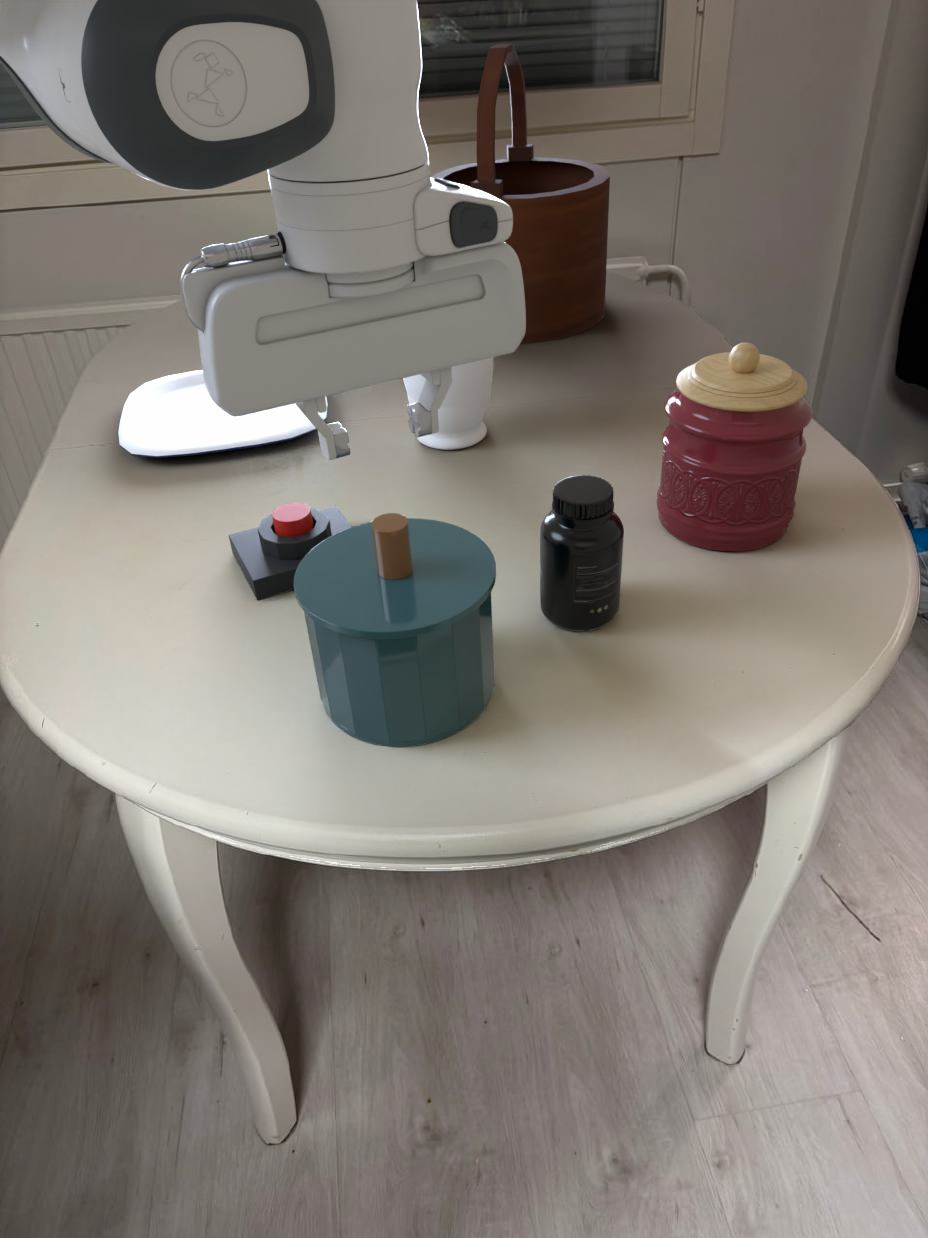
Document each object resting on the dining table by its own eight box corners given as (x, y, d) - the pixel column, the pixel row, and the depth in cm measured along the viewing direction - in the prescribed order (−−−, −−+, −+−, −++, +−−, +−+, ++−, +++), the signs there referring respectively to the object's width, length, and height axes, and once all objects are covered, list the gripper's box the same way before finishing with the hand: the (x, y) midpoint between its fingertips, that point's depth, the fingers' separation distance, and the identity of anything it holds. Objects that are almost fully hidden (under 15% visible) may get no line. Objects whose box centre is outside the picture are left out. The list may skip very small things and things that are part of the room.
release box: (257, 600, 84) (248, 564, 81) (232, 553, 90) (224, 518, 88) (370, 567, 87) (365, 530, 85) (338, 524, 94) (333, 489, 92)
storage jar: (357, 771, 66) (338, 657, 60) (300, 664, 76) (278, 557, 70) (524, 709, 71) (523, 597, 64) (449, 615, 81) (442, 511, 74)
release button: (281, 541, 85) (278, 525, 84) (270, 524, 87) (267, 508, 86) (318, 531, 86) (315, 515, 85) (306, 514, 89) (303, 498, 88)
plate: (114, 475, 105) (110, 462, 104) (131, 389, 125) (128, 377, 124) (336, 445, 108) (334, 431, 107) (318, 366, 128) (317, 354, 127)
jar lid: (334, 671, 60) (323, 606, 57) (271, 563, 70) (259, 503, 67) (533, 605, 64) (532, 542, 61) (445, 513, 75) (441, 455, 72)
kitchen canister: (631, 504, 94) (642, 333, 84) (738, 476, 98) (762, 309, 87) (703, 568, 84) (726, 384, 74) (820, 534, 88) (858, 354, 77)
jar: (496, 454, 105) (491, 322, 96) (404, 457, 105) (392, 327, 96) (494, 414, 113) (491, 289, 104) (410, 417, 113) (399, 294, 104)
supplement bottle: (526, 600, 82) (525, 479, 75) (594, 579, 84) (599, 460, 77) (563, 643, 77) (565, 518, 70) (634, 620, 79) (643, 496, 71)
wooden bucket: (613, 287, 149) (624, 30, 128) (594, 346, 129) (604, 53, 108) (458, 283, 154) (444, 37, 133) (416, 340, 135) (393, 60, 114)
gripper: (183, 266, 47) (238, 504, 55) (537, 204, 53) (538, 425, 62) (160, 238, 51) (213, 462, 60) (488, 184, 58) (495, 393, 66)
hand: (380, 443), depth 61 cm, fingers open, 5 cm apart
